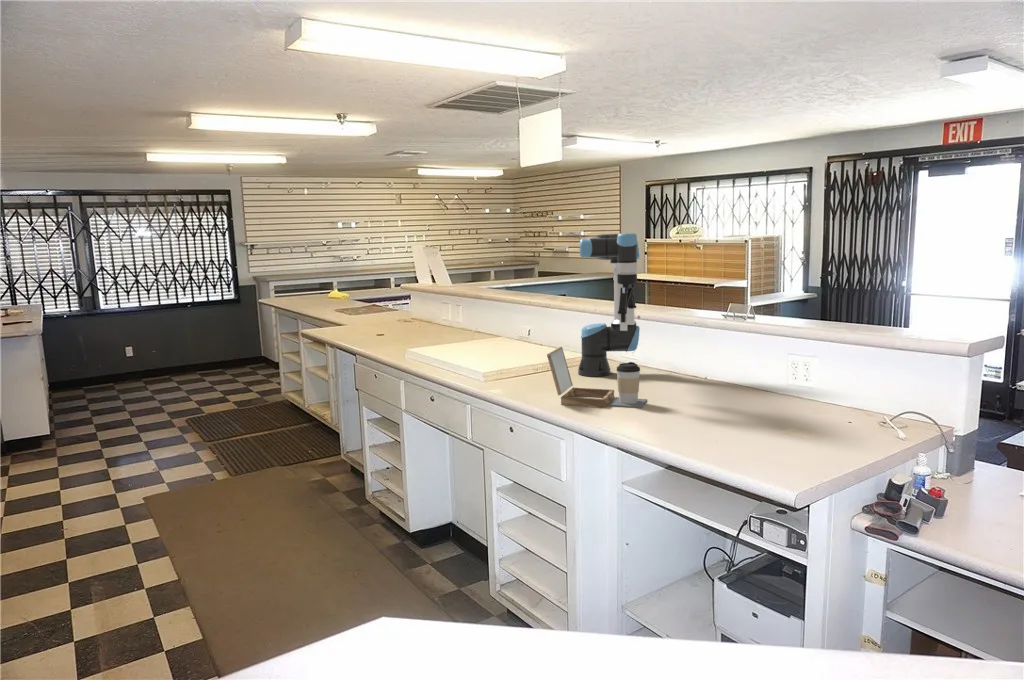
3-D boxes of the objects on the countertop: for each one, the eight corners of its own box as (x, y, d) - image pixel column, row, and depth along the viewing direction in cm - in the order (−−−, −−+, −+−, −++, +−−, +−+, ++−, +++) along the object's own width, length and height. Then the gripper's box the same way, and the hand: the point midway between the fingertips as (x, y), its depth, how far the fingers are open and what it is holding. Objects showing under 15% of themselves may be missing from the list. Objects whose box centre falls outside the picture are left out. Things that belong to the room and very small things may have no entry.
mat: (616, 398, 263) (616, 397, 263) (646, 400, 258) (646, 399, 258) (609, 406, 252) (609, 404, 252) (641, 408, 247) (641, 406, 247)
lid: (572, 385, 271) (570, 385, 272) (562, 346, 270) (559, 347, 271) (560, 394, 256) (558, 395, 256) (549, 353, 255) (546, 354, 255)
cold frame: (573, 394, 272) (573, 387, 271) (614, 397, 266) (614, 389, 265) (561, 404, 256) (560, 397, 256) (604, 407, 250) (604, 399, 250)
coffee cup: (633, 405, 249) (633, 366, 247) (612, 402, 254) (612, 364, 252) (644, 400, 256) (644, 362, 254) (623, 397, 261) (623, 360, 259)
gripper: (624, 270, 269) (624, 322, 273) (610, 276, 246) (610, 332, 250) (642, 270, 266) (642, 322, 270) (630, 276, 243) (630, 333, 247)
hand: (627, 327), depth 260 cm, fingers open, 13 cm apart
